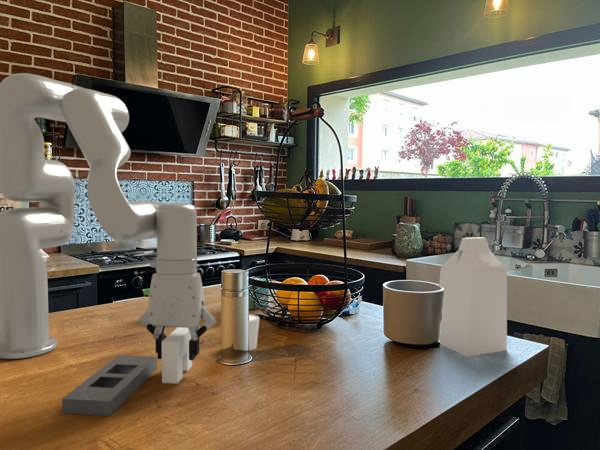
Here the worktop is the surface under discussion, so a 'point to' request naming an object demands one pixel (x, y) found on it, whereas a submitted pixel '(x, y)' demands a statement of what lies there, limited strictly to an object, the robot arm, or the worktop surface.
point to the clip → (175, 355)
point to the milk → (474, 300)
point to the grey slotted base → (109, 386)
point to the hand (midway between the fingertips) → (177, 356)
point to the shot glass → (253, 331)
